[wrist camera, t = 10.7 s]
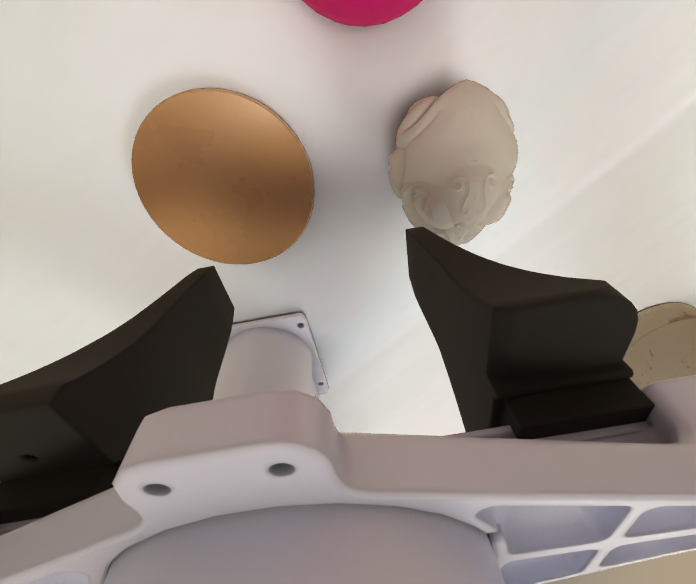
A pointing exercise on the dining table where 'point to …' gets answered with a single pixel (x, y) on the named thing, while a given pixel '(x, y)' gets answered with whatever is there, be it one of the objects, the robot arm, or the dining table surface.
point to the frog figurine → (455, 161)
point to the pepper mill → (362, 10)
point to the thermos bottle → (663, 344)
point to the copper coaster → (223, 176)
